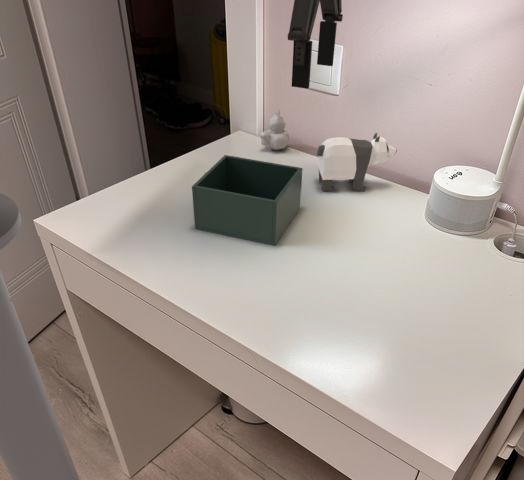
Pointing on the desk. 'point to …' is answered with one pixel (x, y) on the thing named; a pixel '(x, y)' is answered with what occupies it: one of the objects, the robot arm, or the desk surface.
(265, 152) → the desk surface
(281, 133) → the grey toy figure
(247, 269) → the desk surface
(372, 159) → the giant panda
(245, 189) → the bin
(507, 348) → the desk surface
